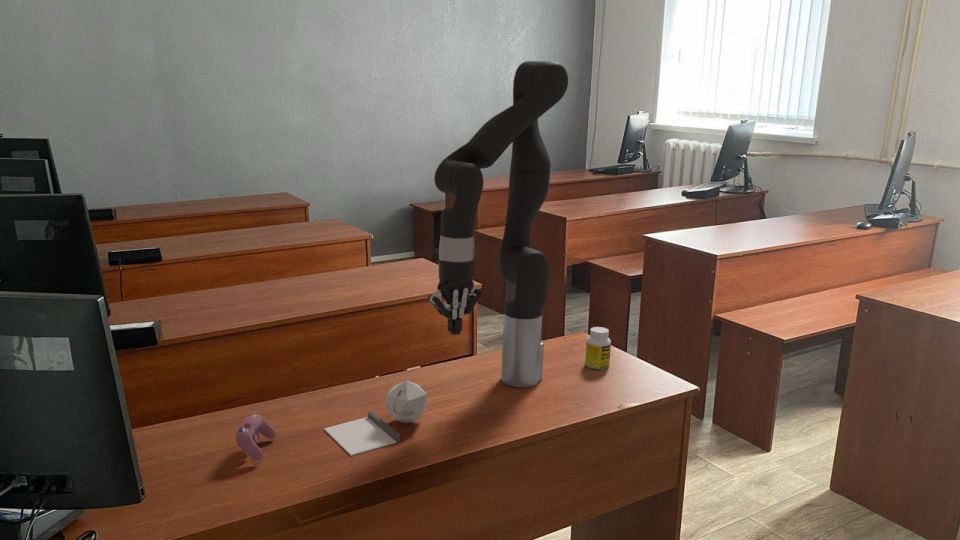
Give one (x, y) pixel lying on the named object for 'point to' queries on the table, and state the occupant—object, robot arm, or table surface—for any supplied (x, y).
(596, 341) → the pill bottle
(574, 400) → the table surface
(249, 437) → the video game controller
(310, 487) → the table surface
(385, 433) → the white l-shaped plate
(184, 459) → the table surface
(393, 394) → the die
